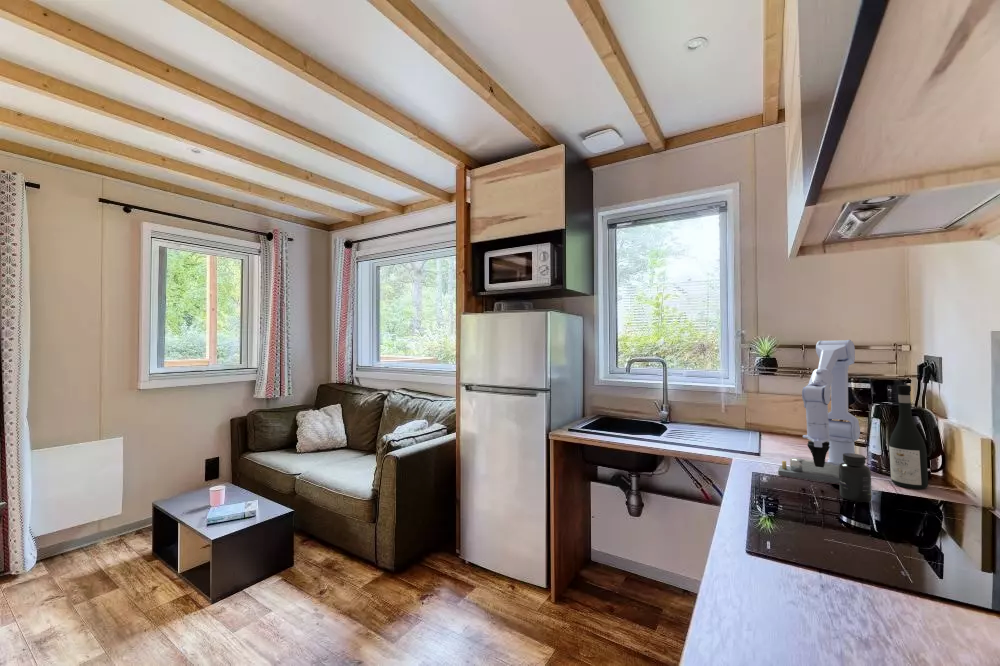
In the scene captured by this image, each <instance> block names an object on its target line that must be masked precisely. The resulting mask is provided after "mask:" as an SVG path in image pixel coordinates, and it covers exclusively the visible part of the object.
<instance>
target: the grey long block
mask: <svg viewBox="0 0 1000 666" xmlns="http://www.w3.org/2000/svg"><path fill="white" fill-rule="evenodd" d="M840 464H841V463H839V462H828V461H825V464H824V468H822V467H816V466H815V464H814V460H813V459H805V458H799V457H790V458H789V467H790V470H791V471H795V472H805V473H812V474H820V475H828V476H833V477H838V478H839V465H840Z"/></svg>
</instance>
